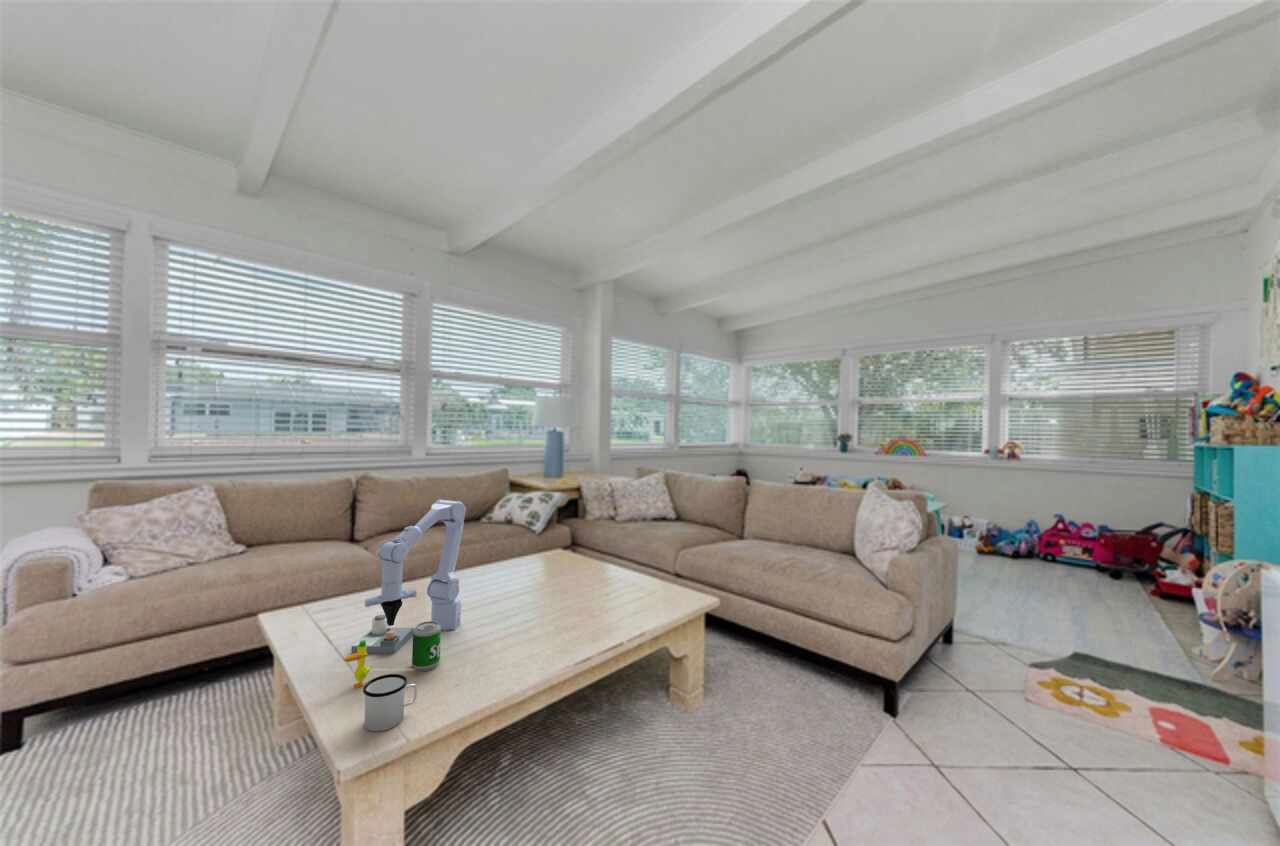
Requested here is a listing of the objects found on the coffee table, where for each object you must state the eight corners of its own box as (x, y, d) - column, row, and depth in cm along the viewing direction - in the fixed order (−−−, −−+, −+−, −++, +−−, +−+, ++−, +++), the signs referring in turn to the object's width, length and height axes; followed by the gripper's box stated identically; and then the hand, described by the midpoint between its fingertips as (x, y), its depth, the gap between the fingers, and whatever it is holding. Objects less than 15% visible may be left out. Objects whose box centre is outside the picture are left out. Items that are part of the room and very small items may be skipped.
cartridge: (389, 635, 161) (389, 614, 161) (383, 641, 157) (383, 619, 157) (375, 635, 161) (376, 614, 161) (369, 641, 157) (369, 619, 157)
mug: (368, 739, 109) (369, 699, 109) (356, 720, 116) (357, 682, 116) (422, 718, 117) (424, 680, 117) (408, 701, 124) (410, 666, 124)
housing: (413, 634, 163) (413, 622, 163) (395, 654, 149) (395, 641, 149) (373, 634, 162) (373, 622, 162) (351, 654, 148) (351, 641, 148)
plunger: (396, 637, 152) (396, 630, 152) (392, 640, 150) (392, 634, 150) (387, 637, 152) (387, 630, 152) (383, 640, 150) (384, 634, 150)
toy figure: (344, 693, 127) (346, 647, 127) (341, 687, 129) (343, 643, 130) (373, 684, 131) (374, 640, 132) (369, 679, 134) (371, 636, 134)
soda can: (422, 675, 137) (423, 632, 137) (406, 667, 141) (407, 626, 141) (445, 664, 144) (446, 624, 144) (429, 657, 148) (430, 618, 148)
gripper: (411, 573, 159) (410, 615, 159) (362, 582, 149) (360, 626, 149) (419, 578, 154) (418, 621, 154) (369, 588, 144) (367, 634, 144)
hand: (390, 624), depth 151 cm, fingers closed
